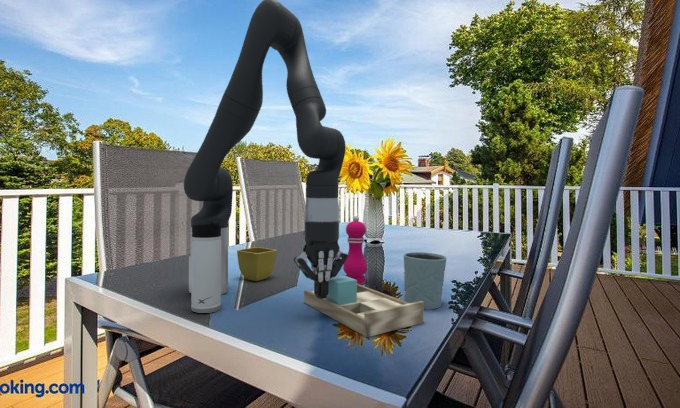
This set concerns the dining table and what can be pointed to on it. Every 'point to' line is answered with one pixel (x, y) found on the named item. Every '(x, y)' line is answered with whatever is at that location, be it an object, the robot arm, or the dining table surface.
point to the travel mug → (206, 268)
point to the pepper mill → (355, 251)
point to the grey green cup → (424, 278)
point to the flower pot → (256, 262)
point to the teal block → (342, 290)
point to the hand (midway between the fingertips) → (321, 297)
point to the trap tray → (370, 311)
